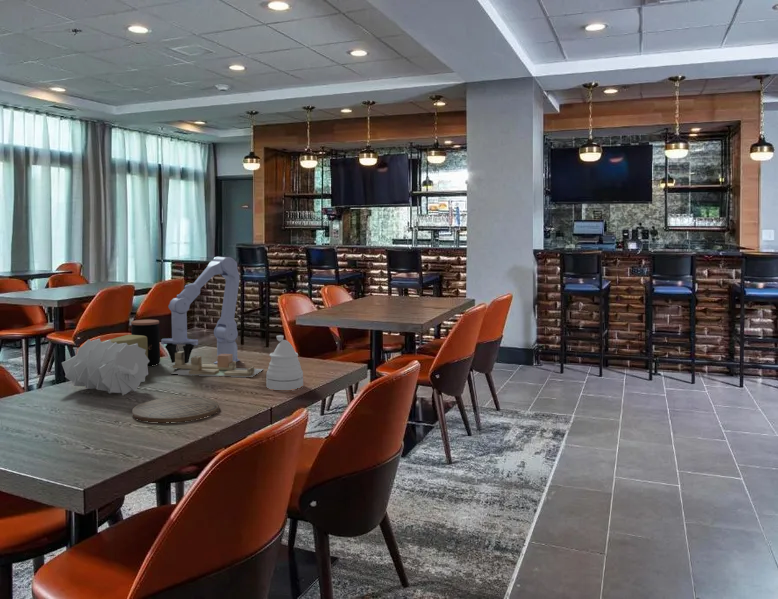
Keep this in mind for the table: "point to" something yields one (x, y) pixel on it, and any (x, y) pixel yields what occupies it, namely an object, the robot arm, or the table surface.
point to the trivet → (175, 409)
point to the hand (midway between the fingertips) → (180, 362)
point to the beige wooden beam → (181, 364)
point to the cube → (224, 360)
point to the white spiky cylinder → (107, 366)
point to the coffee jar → (149, 337)
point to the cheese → (132, 341)
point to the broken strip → (197, 369)
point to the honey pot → (284, 368)
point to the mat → (220, 373)
